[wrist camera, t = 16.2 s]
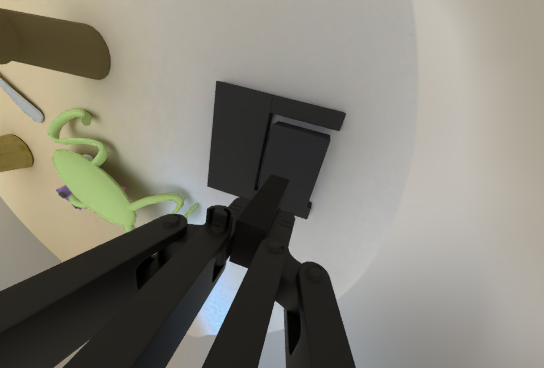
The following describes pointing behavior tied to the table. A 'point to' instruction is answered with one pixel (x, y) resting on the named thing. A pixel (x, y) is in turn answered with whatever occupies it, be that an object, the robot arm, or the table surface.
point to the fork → (22, 102)
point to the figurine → (97, 179)
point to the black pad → (253, 137)
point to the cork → (53, 44)
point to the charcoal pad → (295, 159)
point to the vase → (14, 153)
